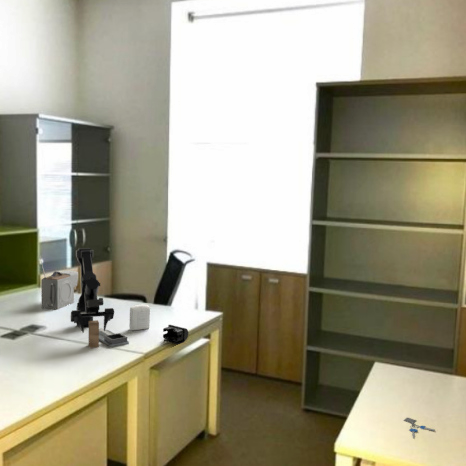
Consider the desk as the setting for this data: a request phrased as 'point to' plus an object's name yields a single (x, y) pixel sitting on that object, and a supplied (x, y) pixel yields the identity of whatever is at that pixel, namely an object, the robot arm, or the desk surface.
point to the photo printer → (139, 317)
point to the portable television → (58, 289)
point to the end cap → (175, 334)
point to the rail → (112, 338)
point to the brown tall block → (93, 333)
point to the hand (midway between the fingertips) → (94, 331)
